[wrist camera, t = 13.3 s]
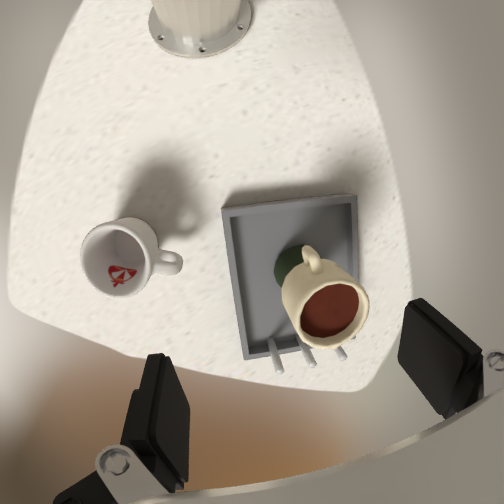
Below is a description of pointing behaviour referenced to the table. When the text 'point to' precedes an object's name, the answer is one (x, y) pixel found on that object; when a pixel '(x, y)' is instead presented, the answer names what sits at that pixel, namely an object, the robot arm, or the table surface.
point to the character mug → (320, 297)
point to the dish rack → (267, 252)
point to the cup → (124, 257)
